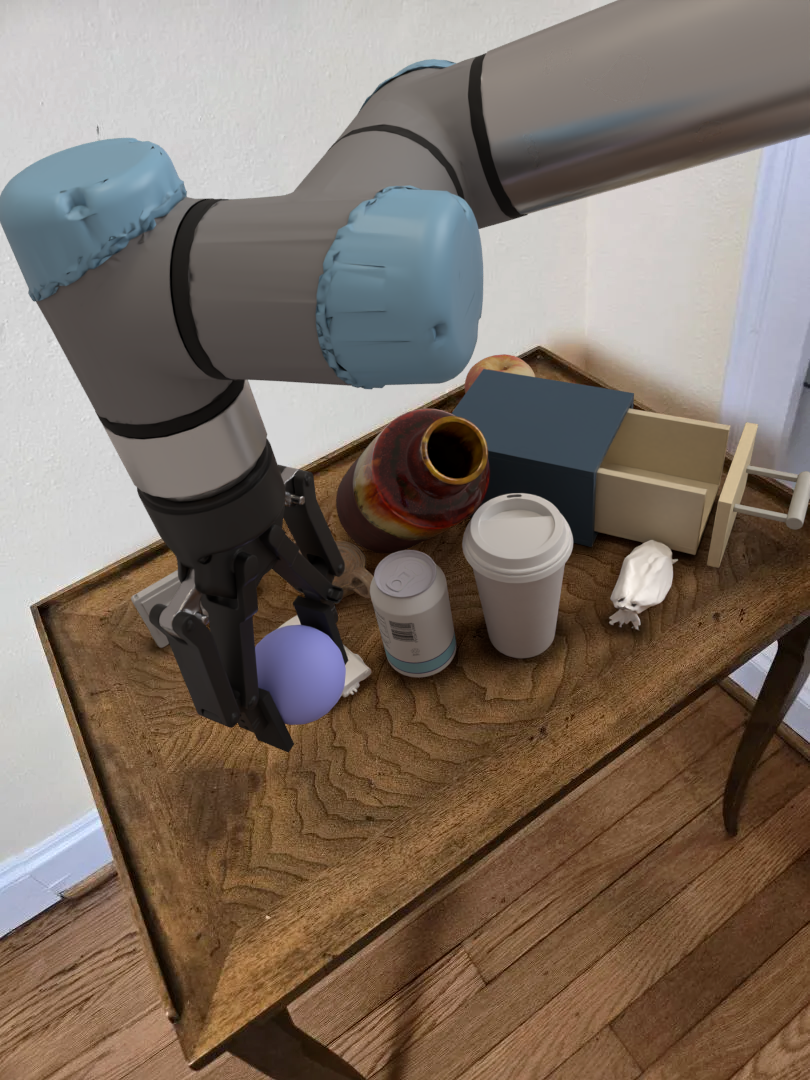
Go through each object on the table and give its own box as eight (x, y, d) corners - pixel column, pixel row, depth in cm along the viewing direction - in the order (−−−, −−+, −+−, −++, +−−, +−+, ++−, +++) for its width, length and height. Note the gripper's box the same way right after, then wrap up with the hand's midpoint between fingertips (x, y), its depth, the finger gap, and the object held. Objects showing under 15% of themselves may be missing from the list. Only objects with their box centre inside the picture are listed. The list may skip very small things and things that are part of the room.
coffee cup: (582, 607, 80) (587, 498, 69) (553, 683, 74) (553, 578, 64) (492, 584, 84) (483, 477, 73) (458, 656, 78) (443, 551, 67)
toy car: (308, 616, 84) (301, 596, 82) (379, 683, 77) (373, 662, 75) (266, 647, 82) (257, 626, 80) (334, 718, 75) (327, 698, 73)
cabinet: (628, 468, 93) (634, 392, 86) (591, 547, 85) (594, 472, 78) (489, 440, 101) (483, 368, 93) (443, 511, 93) (432, 439, 85)
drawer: (807, 501, 84) (826, 435, 78) (786, 584, 77) (805, 519, 71) (596, 459, 94) (598, 397, 88) (560, 529, 87) (559, 468, 81)
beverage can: (471, 649, 78) (460, 566, 70) (424, 696, 75) (406, 615, 67) (420, 615, 82) (404, 533, 74) (373, 659, 79) (350, 578, 71)
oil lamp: (272, 578, 89) (260, 547, 85) (320, 539, 92) (311, 507, 89) (353, 634, 82) (344, 603, 78) (403, 589, 85) (396, 557, 82)
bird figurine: (664, 642, 77) (682, 553, 82) (652, 609, 72) (671, 516, 76) (613, 635, 80) (633, 550, 84) (598, 603, 75) (620, 514, 79)
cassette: (161, 652, 84) (134, 605, 78) (154, 641, 85) (127, 594, 80) (260, 592, 88) (240, 543, 82) (252, 582, 89) (231, 534, 84)
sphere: (374, 697, 58) (354, 638, 53) (300, 762, 56) (272, 706, 51) (315, 648, 63) (292, 589, 58) (244, 706, 60) (213, 649, 55)
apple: (456, 421, 104) (449, 369, 99) (499, 388, 108) (495, 336, 102) (508, 445, 99) (505, 392, 94) (552, 409, 103) (551, 355, 98)
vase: (310, 515, 88) (362, 456, 63) (369, 441, 91) (441, 357, 66) (388, 577, 89) (470, 544, 64) (444, 502, 92) (542, 443, 67)
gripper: (250, 349, 50) (330, 589, 66) (17, 572, 39) (182, 797, 55) (352, 365, 47) (410, 613, 63) (131, 613, 36) (271, 839, 52)
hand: (304, 698), depth 59 cm, fingers closed on sphere, 7 cm apart
